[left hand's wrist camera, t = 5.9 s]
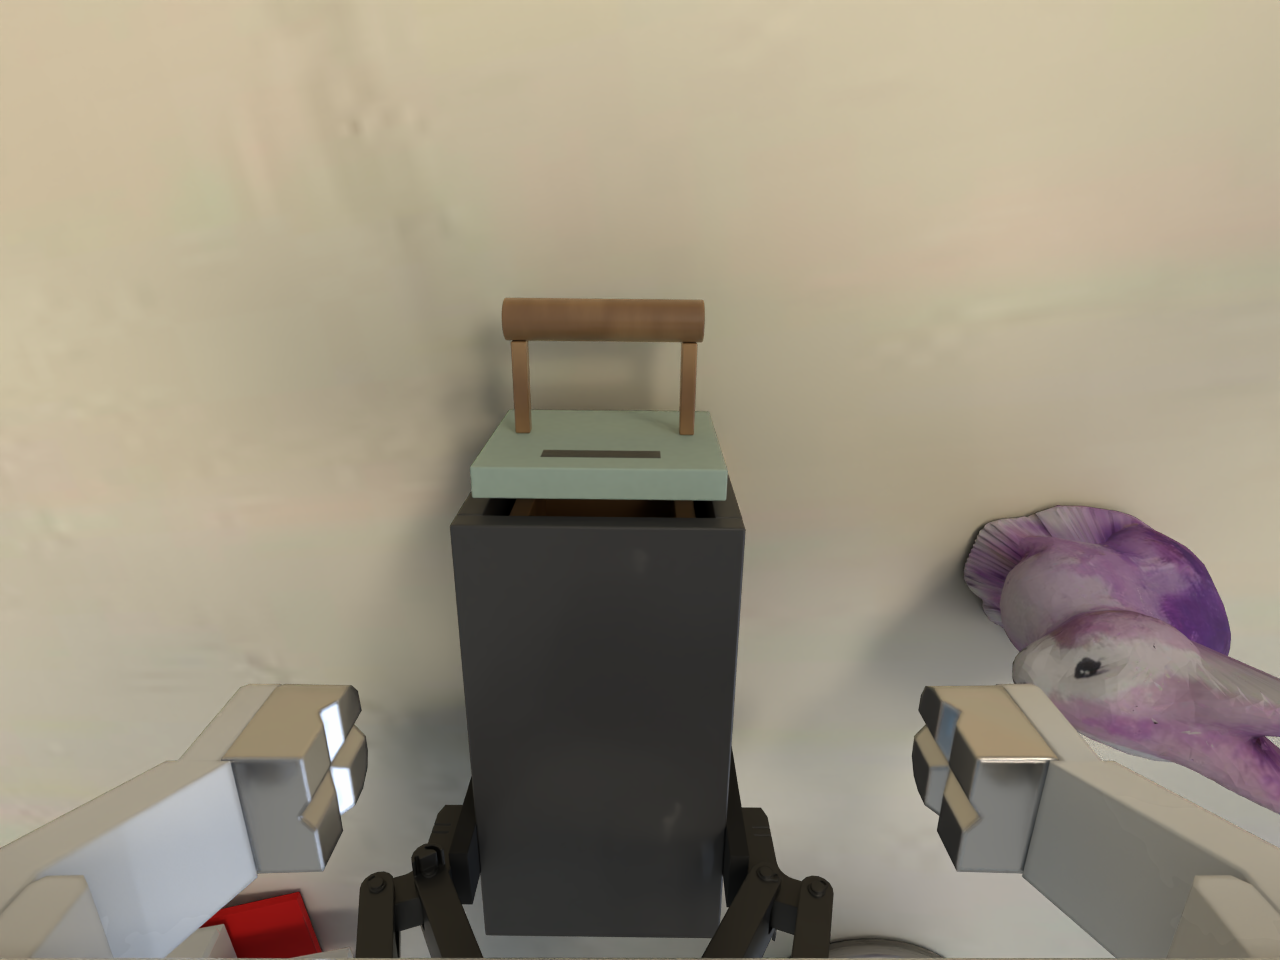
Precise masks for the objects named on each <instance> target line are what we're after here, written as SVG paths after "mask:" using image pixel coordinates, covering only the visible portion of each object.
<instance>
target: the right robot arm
mask: <svg viewBox="0 0 1280 960" xmlns="http://www.w3.org/2000/svg"><path fill="white" fill-rule="evenodd" d="M411 858H412V868H413V871H412V872H410V873H408V874H406V875H403V876H399V877H395V878H393V876H392V875H390V874H389V873H387V872H376V873H374V874H371V875H370V876H368V877H367V878H366V879H365V880H364V881H363V882H362V884H361V887H360V896H359V912H358V928H357V944H356V958H400V934H401V931H402V930H405V929H409V928H412V927H416V926H419V925H420V926H421V928H422V931H423V934H424V937H425V940H426V943H427V946H428V949H429V952H430V955H431V958H483V956H482V953H481V951H480V948H479V946H478V943H477V941H476V938H475V936H474V934H473V931H472V929H471V926H470V924H469V921H468V919H467V916H466V914H465V911H464V909H463V907H462V904H473V900H474V896H475V892H476V888H477V884H478V880H479V876H480V862H479V851H478V840H477V828H476V818H475V807H474V795H473V784H472V777H471V780H470V783H469V787H468V790H467V793H466V796H465V800H464V803H463V805H445V806H444V807H443V809H442V810H441V811H440V812H439V813H438V815H437V818H436V821H435V825H434V827H433V830H432V833H431V836H430V839H429V842H428V844H424V845H422V846H420V847H418V848H417V849H416V850H415V851H414V853H413V855H412V857H411ZM723 880H724V889H725V897H726V906H727V907H729V909H728V910H727V912H726V914H725V916H724V918H723V919H722V921H721V923H720V925H719V927H718V929H717V930H716V932H715V934H714V936H713V938H712V939H711V941H710V943H709V945H708V947H707V948H706V950H705V952H704V954H703V956H702V958H762V956H763V954H764V952H765V950H766V948H767V946H768V944H769V942H770V939H771V937H772V940H773V941H775V938H776V929H778V930H781V931H784V932H787V933H790V934H793V935H794V941H793V949H792V957H791V958H942V957H941V956H939V955H937V954H935V953H933V952H931V951H929V950H927V949H924V948H921V947H919V946H915V945H912V944H908V943H903V942H898V941H891V940H881V939H860V940H849V941H843V942H837V943H832V944H830V932H831V920H832V907H833V888H832V887H831V885H830V883H829V882H827V881H826V880H825V879H823V878H821V877H819V876H809V877H806V878H805V879H804V880H802V881H799V880H795V879H792V878H790V877H788V876H786V875H785V874H784V873H783V872H782V871H781V870H780V869H779V867H778V865H777V862H776V857H775V852H774V847H773V842H772V837H771V832H770V828H769V822H768V817H767V816H766V814H765V813H764V811H763V810H762V809H761V808H742V807H741V801H740V795H739V789H738V783H737V776H736V770H735V764H734V758H733V752H732V746H731V760H730V776H729V791H728V806H727V822H726V835H725V850H724V866H723ZM772 935H773V936H772Z"/></svg>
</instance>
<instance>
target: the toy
mask: <svg viewBox="0 0 1280 960" xmlns="http://www.w3.org/2000/svg"><path fill="white" fill-rule="evenodd" d="M165 958H353V955H352V952H351V949H350V947H347V948H342V949H336V950H331V951H326V952H322V951H321V948H320V946H319V943H318V940H317V937H316V935H315V932H314V929H313V927H312V924H311V921H310V919H309V916H308V913H307V911H306V908H305V905H304V903H303V900H302V897H301V895H300V892H296V893H291V894H287V895H282V896H278V897H273V898H269V899H264V900H260V901H255V902H251V903H246V904H242V905H237V906H233V907H229V908H224V909H220V910H219V911H218V912H217V913H216V914H214V915H213V916H212V917H211V918H210V919H209V920H207V921H206V922H205V923H204V924H203V925H202V926H201V927H199V928H198V929H197V930H196V931H195V932H194V933H192V934H191V935H190V936H189V937H188V938H187V939H186V940H184V941H183V942H182V943H181V944H180V945H179V946H177V947H176V948H175V949H174V950H173V951H172V952H170V953H169V954H168V955H167V956H166V957H165Z"/></svg>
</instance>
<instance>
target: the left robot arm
mask: <svg viewBox="0 0 1280 960" xmlns="http://www.w3.org/2000/svg"><path fill="white" fill-rule="evenodd" d="M360 712H361V705H360V700H359V695H358V691H357V690H356V689H355V688H354V687H353V686H352V685H308V684H283V685H281V684H248V685H246V686H243V687H240V688H239V690H238V691H237V692H236V693H235V694H234V695H233V697H232V698H231V699H230V700H229V701H228V702H227V704H226V705H225V706H224V707H223V708H222V709H221V711H220V712H219V713H218V714H217V715H216V717H215V718H214V719H213V720H212V721H211V722H210V724H209V725H208V726H207V727H206V728H205V729H204V731H203V732H202V733H201V734H200V735H199V737H198V738H197V739H196V740H195V741H194V742H193V744H192V745H191V746H190V747H189V748H188V749H187V751H186V752H185V753H184V754H183V755H182V757H181V758H180V759H179V760H178V761H165V762H163V763H161V764H159V765H158V766H156V767H154V768H152V769H150V770H148V771H146V772H144V773H142V774H140V775H139V776H137V777H135V778H133V779H131V780H129V781H127V782H125V783H123V784H121V785H120V786H118V787H116V788H114V789H112V790H110V791H108V792H106V793H104V794H102V795H101V796H99V797H97V798H95V799H93V800H91V801H89V802H87V803H85V804H83V805H82V806H80V807H78V808H76V809H74V810H72V811H70V812H68V813H66V814H64V815H63V816H61V817H59V818H57V819H55V820H53V821H51V822H49V823H47V824H45V825H44V826H42V827H40V828H38V829H36V830H34V831H32V832H30V833H28V834H26V835H25V836H23V837H21V838H19V839H17V840H15V841H13V842H11V843H9V844H7V845H6V846H4V847H2V848H0V960H1280V848H1278V847H1276V846H1274V845H1272V844H1270V843H1268V842H1266V841H1264V840H1263V839H1261V838H1259V837H1257V836H1255V835H1253V834H1251V833H1249V832H1247V831H1246V830H1244V829H1242V828H1240V827H1238V826H1236V825H1234V824H1232V823H1230V822H1228V821H1227V820H1225V819H1223V818H1221V817H1219V816H1217V815H1215V814H1213V813H1211V812H1210V811H1208V810H1206V809H1204V808H1202V807H1200V806H1198V805H1196V804H1194V803H1192V802H1191V801H1189V800H1187V799H1185V798H1183V797H1181V796H1179V795H1177V794H1175V793H1174V792H1172V791H1170V790H1168V789H1166V788H1164V787H1162V786H1160V785H1158V784H1157V783H1155V782H1153V781H1151V780H1149V779H1147V778H1145V777H1143V776H1141V775H1139V774H1138V773H1136V772H1134V771H1132V770H1130V769H1128V768H1126V767H1124V766H1122V765H1121V764H1119V763H1117V762H1115V761H1102V760H1101V759H1100V758H1099V757H1098V755H1097V754H1096V753H1095V752H1094V751H1093V750H1092V748H1091V747H1090V746H1089V745H1088V744H1087V742H1086V741H1085V740H1084V739H1083V738H1082V737H1081V735H1080V734H1079V733H1078V732H1077V731H1076V730H1075V728H1074V727H1073V726H1072V725H1071V724H1070V723H1069V721H1068V720H1067V719H1066V718H1065V717H1064V715H1063V714H1062V713H1061V712H1060V711H1059V710H1058V708H1057V707H1056V706H1055V705H1054V704H1053V703H1052V701H1051V700H1050V699H1049V698H1048V697H1047V696H1046V694H1045V693H1044V692H1043V691H1042V690H1041V688H1039V687H1037V686H1035V685H1033V684H1031V683H1029V684H996V685H995V686H925V688H924V690H923V692H922V694H921V698H920V704H919V712H920V714H921V716H922V718H923V720H924V721H925V723H926V725H925V726H924V727H923V728H922V729H921V730H920V731H919V732H918V733H917V734H916V735H915V736H914V743H913V751H912V762H913V773H914V778H915V782H916V785H917V789H918V792H919V794H920V796H921V798H922V800H923V802H924V805H925V806H927V807H928V808H929V809H931V810H932V811H934V812H935V813H936V814H938V815H939V822H938V828H937V832H938V834H939V836H940V838H941V840H942V842H943V844H944V846H945V848H946V850H947V852H948V854H949V856H950V858H951V860H952V862H953V864H954V866H955V868H956V871H957V872H992V873H1023V875H1022V877H1023V878H1024V879H1026V880H1027V881H1028V882H1029V883H1030V884H1031V885H1033V886H1034V887H1035V888H1036V889H1037V890H1038V891H1039V892H1041V893H1042V894H1043V895H1044V896H1045V897H1046V898H1047V899H1049V900H1050V901H1051V902H1052V903H1053V904H1054V905H1056V906H1057V907H1058V908H1059V909H1060V910H1061V911H1062V912H1064V913H1065V914H1066V915H1067V916H1068V917H1069V918H1071V919H1072V920H1073V921H1074V922H1075V923H1076V924H1077V925H1079V926H1080V927H1081V928H1082V929H1083V930H1084V931H1085V932H1087V933H1088V934H1089V935H1090V936H1091V937H1092V938H1094V939H1095V940H1096V941H1097V942H1098V943H1099V944H1100V945H1102V946H1103V947H1104V948H1105V949H1106V950H1107V951H1109V952H1110V953H1111V954H1112V955H1113V956H1114V957H1115V958H165V957H166V956H167V955H168V954H169V953H170V952H172V951H173V950H174V949H175V948H176V947H177V946H179V945H180V944H181V943H182V942H183V941H184V940H186V939H187V938H188V937H189V936H190V935H191V934H192V933H194V932H195V931H196V930H197V929H198V928H199V927H201V926H202V925H203V924H204V923H205V922H206V921H207V920H209V919H210V918H211V917H212V916H213V915H214V914H216V913H217V912H218V911H219V910H220V909H221V908H222V907H224V906H225V905H226V904H227V903H228V902H229V901H231V900H232V899H233V898H234V897H235V896H236V895H237V894H239V893H240V892H241V891H242V890H243V889H244V888H246V887H247V886H248V885H249V884H250V883H251V882H252V881H254V880H255V879H256V878H257V876H258V875H257V873H287V872H321V871H324V869H325V867H326V865H327V862H328V860H329V858H330V856H331V854H332V852H333V850H334V848H335V846H336V844H337V842H338V840H339V838H340V836H341V834H342V832H343V828H342V822H341V815H342V814H344V813H345V812H346V811H348V810H349V809H350V808H352V807H353V806H355V805H356V802H357V800H358V798H359V796H360V794H361V791H362V789H363V785H364V781H365V776H366V772H367V765H368V749H367V742H366V736H365V735H364V734H363V733H362V732H361V731H360V730H359V729H358V728H357V727H356V726H355V725H354V723H355V721H356V720H357V718H358V716H359V714H360Z"/></svg>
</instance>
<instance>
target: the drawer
mask: <svg viewBox="0 0 1280 960" xmlns="http://www.w3.org/2000/svg"><path fill="white" fill-rule="evenodd" d="M704 324H705V307H704V301H703V300H669V299H573V298H505V299H504V301H503V305H502V328H503V334H504V337H505V339H506V340H513V341H512V342H511V355H512V374H513V394H514V409H510V410H509V411H508V412H507V414H506V415H505V417H504V418H503V420H502V421H501V423H500V424H499V426H498V427H497V429H496V430H495V431H494V433H493V434H492V436H491V437H490V439H489V440H488V442H487V443H486V445H485V446H484V448H483V449H482V451H481V452H480V453H479V455H478V456H477V458H476V459H475V461H474V462H473V464H472V465H471V467H470V477H471V490H472V497H473V498H517V499H516V501H515V503H514V506H513V508H512V510H511V512H510V515H509V516H567V517H656V518H696V514H695V508H694V502H693V500H704V501H725V500H726V496H727V477H728V470H727V467H726V464H725V461H724V458H723V454H722V451H721V448H720V445H719V442H718V439H717V436H716V433H715V429H714V426H713V423H712V420H711V417H710V414H709V412H704V411H695V396H696V368H697V343H696V342H702V341H703V337H704ZM528 341H615V342H681V369H680V404H679V411H612V410H531V395H530V372H529V349H528Z"/></svg>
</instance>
